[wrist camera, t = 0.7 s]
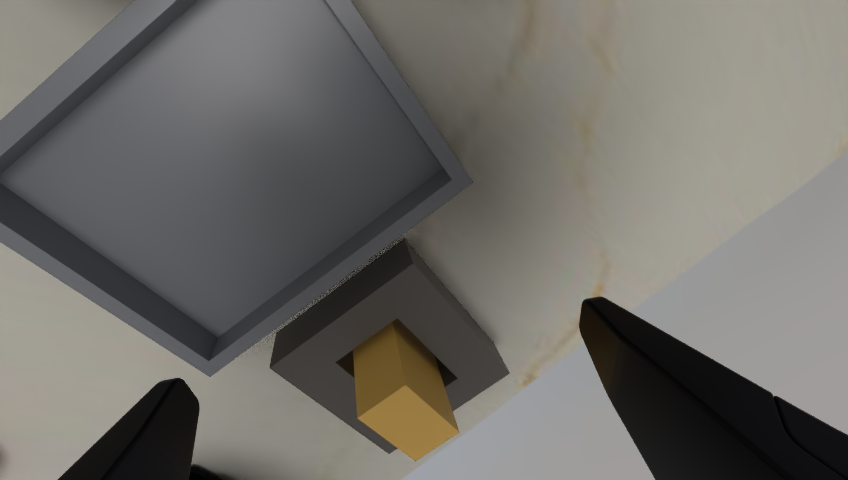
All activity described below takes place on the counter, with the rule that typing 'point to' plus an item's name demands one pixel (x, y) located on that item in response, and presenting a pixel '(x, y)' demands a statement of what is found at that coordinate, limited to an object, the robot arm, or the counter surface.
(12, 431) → the counter surface
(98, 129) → the parts tray
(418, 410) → the block
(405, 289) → the gray square frame
